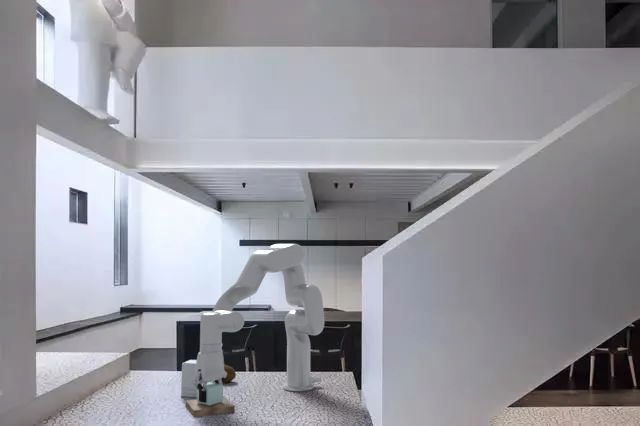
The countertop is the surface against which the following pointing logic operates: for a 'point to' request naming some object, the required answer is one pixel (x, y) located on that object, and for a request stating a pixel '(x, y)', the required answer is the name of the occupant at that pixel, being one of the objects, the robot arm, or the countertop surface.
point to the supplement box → (188, 379)
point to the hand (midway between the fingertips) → (210, 399)
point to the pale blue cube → (212, 394)
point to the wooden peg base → (209, 407)
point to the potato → (229, 373)
